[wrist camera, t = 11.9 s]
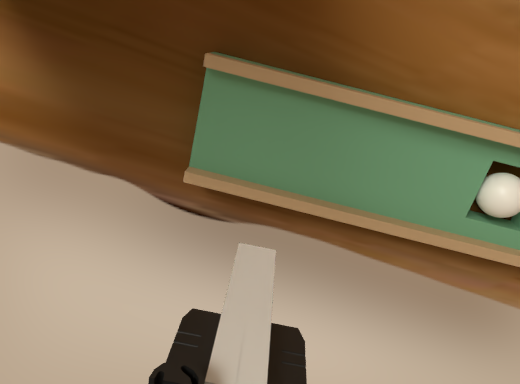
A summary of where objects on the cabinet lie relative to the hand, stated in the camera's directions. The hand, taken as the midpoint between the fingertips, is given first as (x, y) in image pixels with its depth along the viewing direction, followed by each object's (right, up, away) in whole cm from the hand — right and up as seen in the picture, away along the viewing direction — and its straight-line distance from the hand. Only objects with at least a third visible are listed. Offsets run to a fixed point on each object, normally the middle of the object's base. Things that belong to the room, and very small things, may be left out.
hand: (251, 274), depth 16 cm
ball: (+22, +3, +19) cm, 29 cm away
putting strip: (+12, +6, +21) cm, 25 cm away
